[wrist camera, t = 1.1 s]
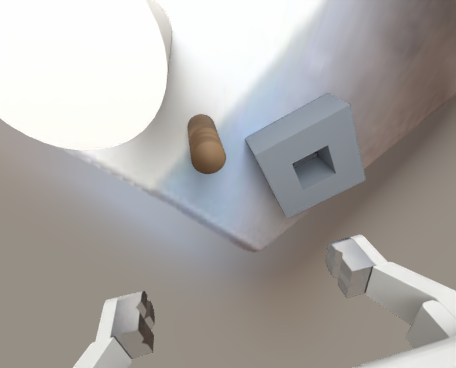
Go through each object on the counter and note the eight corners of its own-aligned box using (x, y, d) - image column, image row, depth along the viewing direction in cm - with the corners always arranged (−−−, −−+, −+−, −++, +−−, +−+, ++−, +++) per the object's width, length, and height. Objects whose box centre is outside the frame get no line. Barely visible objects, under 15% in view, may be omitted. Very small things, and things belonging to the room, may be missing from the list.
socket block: (327, 92, 38) (350, 104, 33) (345, 162, 46) (365, 180, 41) (244, 138, 40) (255, 155, 35) (275, 197, 47) (287, 218, 43)
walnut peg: (206, 109, 36) (215, 136, 28) (219, 132, 38) (231, 163, 30) (182, 123, 37) (184, 154, 28) (196, 144, 39) (202, 179, 31)
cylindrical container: (136, -26, 27) (15, -160, 6) (184, 33, 31) (205, 71, 10) (93, 24, 29) (-110, 47, 8) (144, 75, 32) (92, 179, 12)
